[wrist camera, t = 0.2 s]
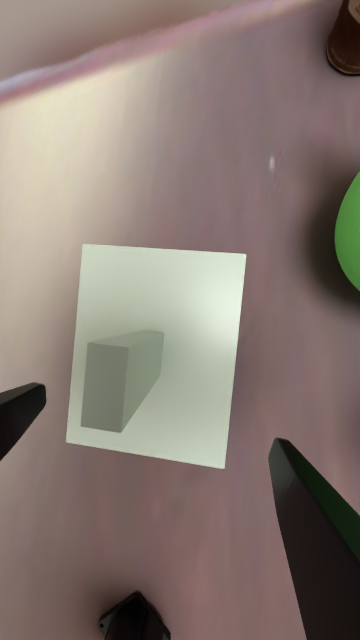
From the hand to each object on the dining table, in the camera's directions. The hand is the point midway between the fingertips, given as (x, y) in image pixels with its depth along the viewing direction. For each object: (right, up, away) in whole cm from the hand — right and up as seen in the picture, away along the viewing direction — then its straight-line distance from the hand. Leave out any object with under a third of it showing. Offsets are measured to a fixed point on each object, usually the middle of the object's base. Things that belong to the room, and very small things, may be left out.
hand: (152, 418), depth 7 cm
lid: (-1, +1, +12) cm, 13 cm away
